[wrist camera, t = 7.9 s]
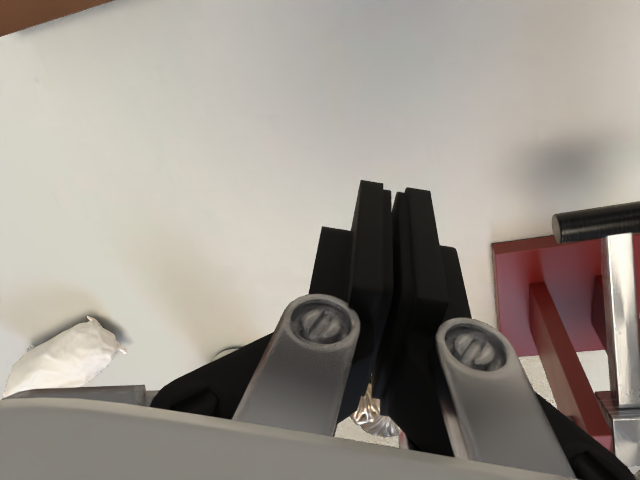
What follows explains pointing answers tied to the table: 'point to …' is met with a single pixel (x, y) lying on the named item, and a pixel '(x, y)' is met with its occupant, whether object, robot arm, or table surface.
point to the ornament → (373, 417)
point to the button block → (38, 12)
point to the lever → (615, 315)
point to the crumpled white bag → (65, 359)
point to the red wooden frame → (558, 316)
